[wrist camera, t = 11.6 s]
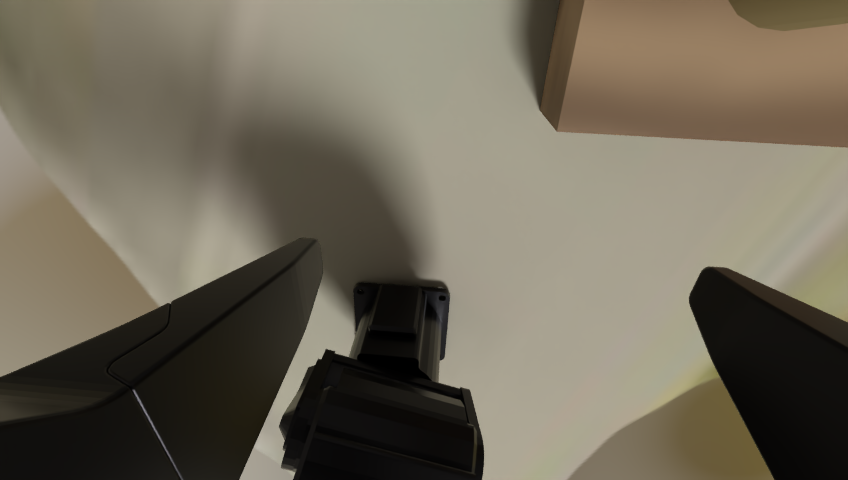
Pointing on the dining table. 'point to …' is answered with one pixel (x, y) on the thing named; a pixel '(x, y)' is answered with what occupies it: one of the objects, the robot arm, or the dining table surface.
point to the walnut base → (694, 74)
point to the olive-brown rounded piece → (792, 13)
